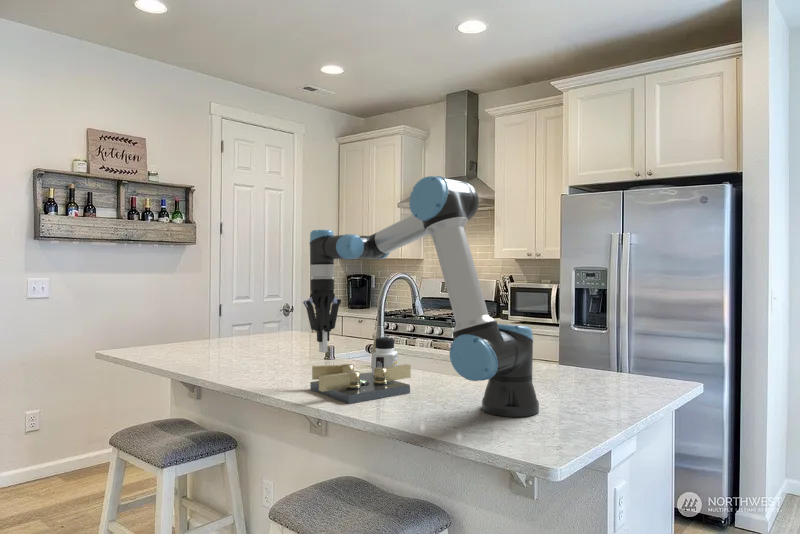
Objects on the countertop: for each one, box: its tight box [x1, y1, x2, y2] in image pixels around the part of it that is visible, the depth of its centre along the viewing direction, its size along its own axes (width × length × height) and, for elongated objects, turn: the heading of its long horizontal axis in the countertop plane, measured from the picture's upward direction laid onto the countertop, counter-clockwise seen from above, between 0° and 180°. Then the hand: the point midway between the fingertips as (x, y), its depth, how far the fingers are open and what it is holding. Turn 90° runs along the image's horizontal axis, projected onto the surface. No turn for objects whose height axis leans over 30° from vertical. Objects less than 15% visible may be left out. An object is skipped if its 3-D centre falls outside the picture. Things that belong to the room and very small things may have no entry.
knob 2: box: [373, 363, 412, 384], centre depth 182 cm, size 13×4×4 cm, turn 128°
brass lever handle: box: [311, 363, 355, 381], centre depth 184 cm, size 13×4×4 cm, turn 101°
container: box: [371, 336, 399, 375], centre depth 206 cm, size 8×8×13 cm
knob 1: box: [318, 370, 361, 392], centre depth 170 cm, size 13×4×4 cm, turn 128°
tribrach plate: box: [309, 373, 411, 405], centre depth 179 cm, size 22×22×3 cm
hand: (323, 351), depth 187 cm, fingers closed
